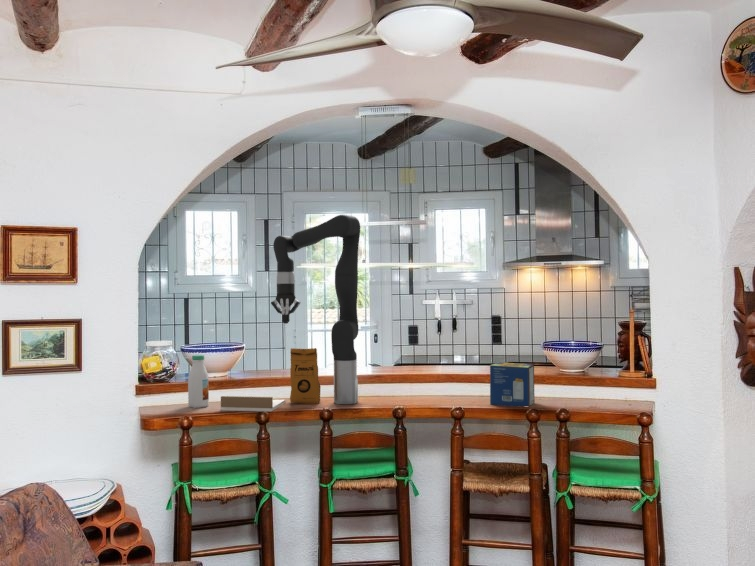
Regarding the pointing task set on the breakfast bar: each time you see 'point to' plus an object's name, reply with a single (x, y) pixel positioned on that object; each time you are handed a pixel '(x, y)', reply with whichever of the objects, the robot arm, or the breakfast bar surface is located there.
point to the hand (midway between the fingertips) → (285, 323)
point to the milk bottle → (198, 383)
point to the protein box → (512, 384)
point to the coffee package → (304, 376)
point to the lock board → (249, 403)
